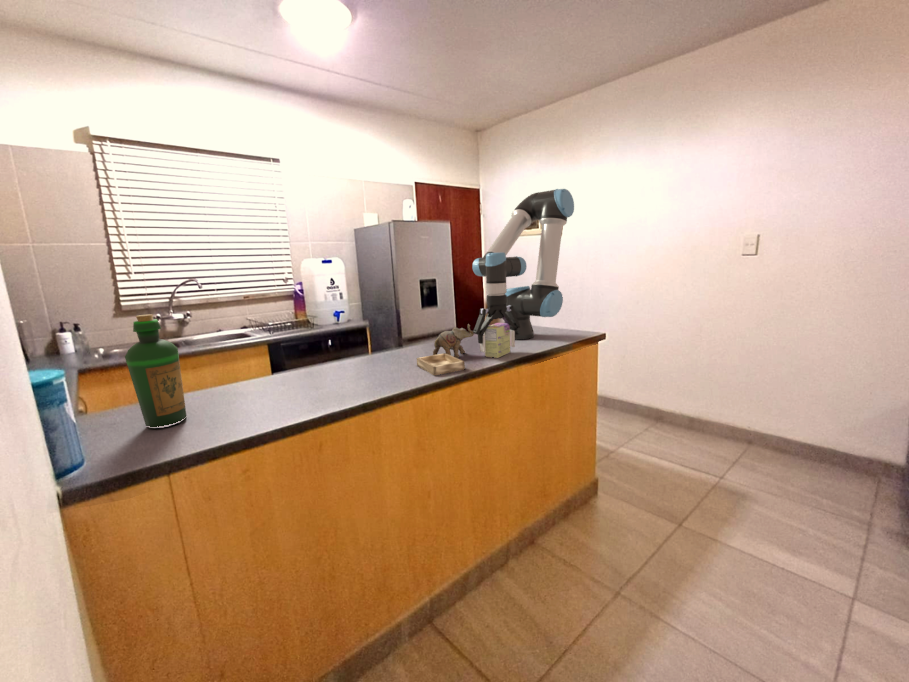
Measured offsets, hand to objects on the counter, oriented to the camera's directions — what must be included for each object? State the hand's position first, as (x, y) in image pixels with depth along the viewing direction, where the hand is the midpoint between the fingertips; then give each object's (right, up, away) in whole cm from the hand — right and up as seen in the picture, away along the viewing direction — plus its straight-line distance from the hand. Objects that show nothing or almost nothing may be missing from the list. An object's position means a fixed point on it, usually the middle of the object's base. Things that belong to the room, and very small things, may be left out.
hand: (497, 349), depth 155 cm
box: (0, -2, 0) cm, 2 cm away
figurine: (-17, -3, +1) cm, 17 cm away
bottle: (-90, -18, -53) cm, 106 cm away
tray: (-22, -6, -14) cm, 27 cm away
